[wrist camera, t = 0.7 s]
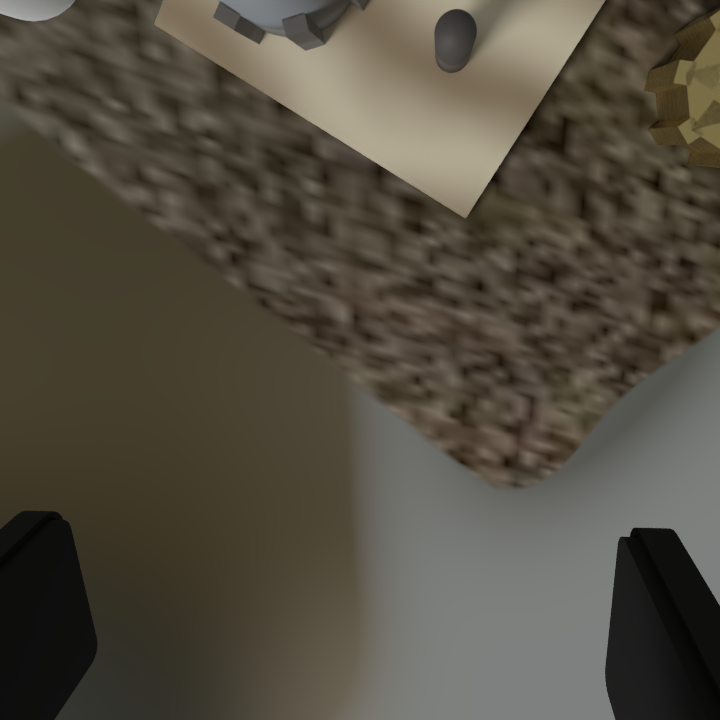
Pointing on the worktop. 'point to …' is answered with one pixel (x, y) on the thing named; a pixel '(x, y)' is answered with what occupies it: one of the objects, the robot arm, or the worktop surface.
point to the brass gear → (691, 92)
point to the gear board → (398, 73)
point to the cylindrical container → (34, 8)
